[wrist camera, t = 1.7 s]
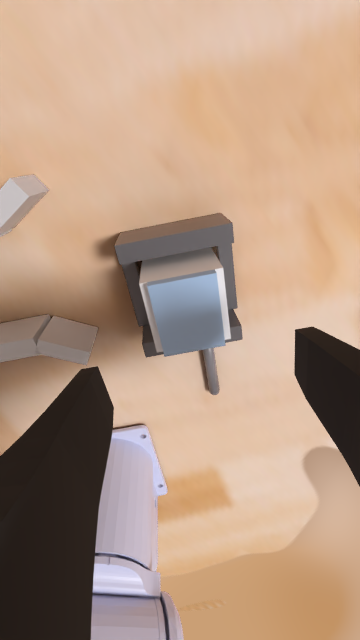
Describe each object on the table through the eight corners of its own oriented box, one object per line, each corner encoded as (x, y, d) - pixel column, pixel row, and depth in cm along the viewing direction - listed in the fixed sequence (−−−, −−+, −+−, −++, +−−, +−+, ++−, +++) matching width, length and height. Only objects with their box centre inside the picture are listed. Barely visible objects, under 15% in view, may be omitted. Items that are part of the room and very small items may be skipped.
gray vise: (242, 385, 24) (253, 413, 21) (161, 399, 24) (162, 429, 22) (225, 211, 18) (238, 221, 15) (115, 233, 18) (108, 247, 15)
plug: (214, 299, 20) (233, 343, 16) (156, 310, 20) (157, 358, 16) (207, 240, 18) (225, 271, 14) (143, 253, 18) (138, 288, 14)
